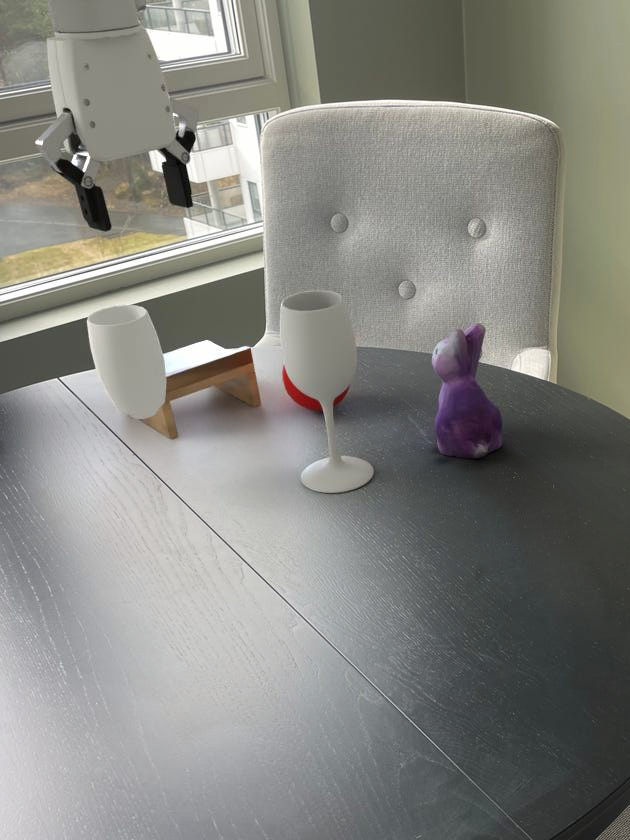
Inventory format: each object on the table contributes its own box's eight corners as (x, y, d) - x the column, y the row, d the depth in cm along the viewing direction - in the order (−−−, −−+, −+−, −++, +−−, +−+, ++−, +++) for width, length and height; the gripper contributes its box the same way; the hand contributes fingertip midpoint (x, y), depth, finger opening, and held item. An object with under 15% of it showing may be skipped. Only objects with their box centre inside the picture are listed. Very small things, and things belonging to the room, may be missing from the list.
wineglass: (383, 461, 118) (363, 288, 105) (360, 496, 112) (336, 317, 99) (316, 455, 120) (289, 285, 107) (290, 490, 113) (257, 313, 100)
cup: (206, 486, 115) (165, 313, 102) (153, 510, 111) (102, 333, 98) (174, 467, 119) (130, 298, 106) (121, 489, 115) (68, 317, 102)
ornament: (305, 428, 126) (293, 354, 120) (277, 404, 132) (264, 333, 126) (366, 410, 130) (357, 337, 124) (336, 387, 136) (326, 317, 130)
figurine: (444, 421, 126) (437, 306, 117) (516, 433, 123) (514, 316, 114) (410, 452, 120) (399, 334, 111) (485, 467, 116) (480, 345, 107)
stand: (126, 412, 132) (110, 355, 127) (215, 380, 140) (203, 325, 135) (170, 439, 125) (155, 380, 120) (261, 404, 133) (250, 347, 128)
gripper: (150, 3, 94) (189, 192, 104) (-18, 25, 84) (44, 232, 94) (198, 6, 90) (233, 202, 100) (28, 29, 80) (87, 245, 90)
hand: (142, 216), depth 97 cm, fingers open, 9 cm apart
